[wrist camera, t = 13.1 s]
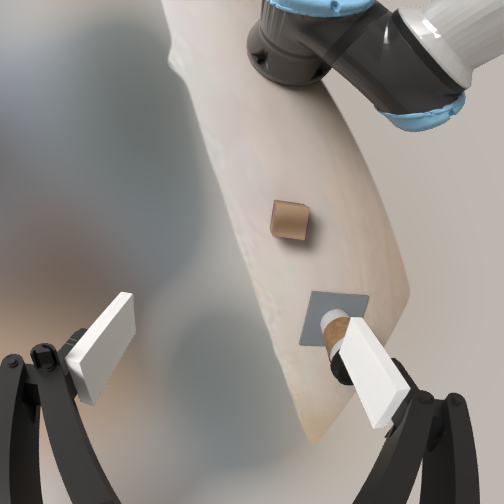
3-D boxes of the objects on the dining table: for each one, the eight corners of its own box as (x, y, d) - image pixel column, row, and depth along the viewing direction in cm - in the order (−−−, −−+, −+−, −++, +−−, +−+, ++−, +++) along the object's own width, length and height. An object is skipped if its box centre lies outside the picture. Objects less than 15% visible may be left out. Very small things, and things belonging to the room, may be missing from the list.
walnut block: (274, 199, 45) (277, 203, 40) (303, 204, 45) (310, 208, 40) (269, 228, 46) (272, 235, 41) (298, 232, 46) (304, 240, 42)
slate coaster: (311, 290, 50) (312, 292, 49) (367, 295, 50) (368, 296, 50) (298, 343, 53) (299, 345, 52) (351, 344, 54) (352, 346, 53)
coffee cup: (361, 311, 51) (393, 355, 36) (338, 343, 53) (362, 392, 38) (329, 296, 49) (356, 342, 35) (306, 331, 51) (324, 382, 37)
